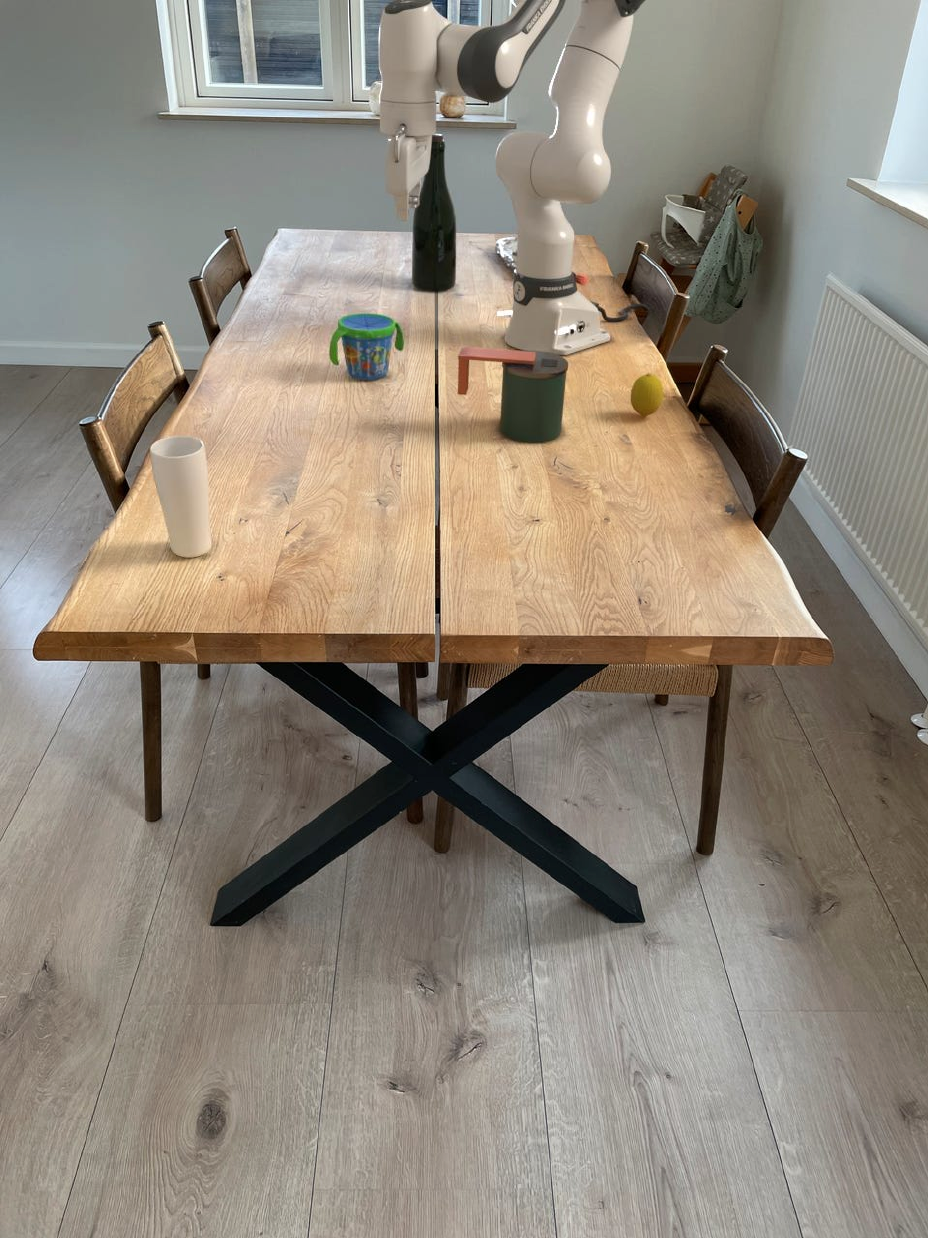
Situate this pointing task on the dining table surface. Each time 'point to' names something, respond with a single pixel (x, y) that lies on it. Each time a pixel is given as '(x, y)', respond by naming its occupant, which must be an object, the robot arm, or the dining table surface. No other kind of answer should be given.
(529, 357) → the bracket
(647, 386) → the lemon
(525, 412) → the green canister
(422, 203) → the dark green wine bottle
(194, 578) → the dining table surface
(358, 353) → the snack cup
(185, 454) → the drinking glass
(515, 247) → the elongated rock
